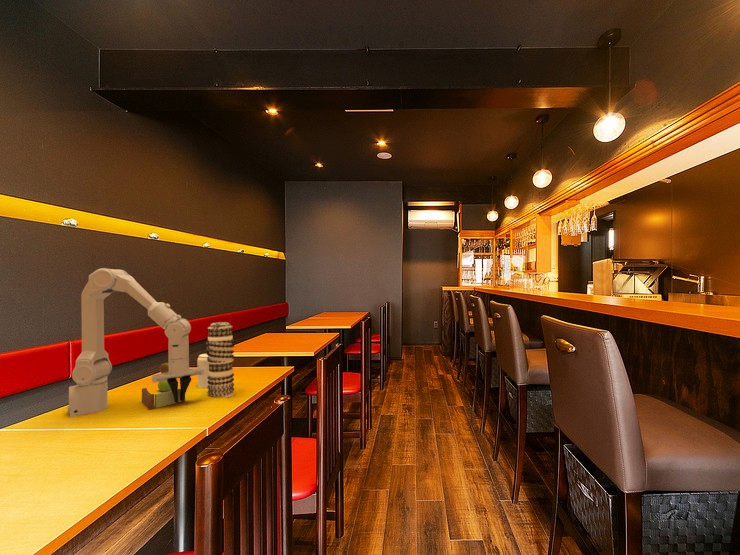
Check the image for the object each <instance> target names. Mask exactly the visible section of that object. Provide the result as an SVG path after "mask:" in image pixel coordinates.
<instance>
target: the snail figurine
mask: <svg viewBox="0 0 740 555" xmlns="http://www.w3.org/2000/svg"><path fill="white" fill-rule="evenodd" d="M159 372H160V374H162V373H166V372H169V362H164V363H162V364H161V365H160V366H159ZM157 383H158V384H157V387H158V390H159V391H160V393H163V392H167V391H172V390H171V388H170V386H169V384H168V382H167V380H164V381H158V382H157Z"/></svg>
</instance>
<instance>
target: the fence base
mask: <svg viewBox="0 0 740 555" xmlns="http://www.w3.org/2000/svg"><path fill="white" fill-rule="evenodd" d="M141 403H143V405H144V406H146V408H147V410H154V409H155V394H154V393H151V392H150V391H148V388H147V387H142V388H141Z"/></svg>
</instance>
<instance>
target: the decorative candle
mask: <svg viewBox="0 0 740 555" xmlns="http://www.w3.org/2000/svg"><path fill="white" fill-rule="evenodd" d="M207 329H208V336H207V340H206V342H205V345H207V347H206V348H205V349H206V353H205V354H207V355H208V356H209V357H208V358H207V360H208V361H207V363H209V371H208V375H209V376H208V377H207V378H208V379H209V380H208V382H207V383H208V384H209V385H208V387H207V388H206V389H207V392H206V393H207V394H208V395H209V396H210V397H215V398H218V397H220V398H221V397H222V398H224V399H227V398H231V397H233V396H234V395H235V392H234V391H235V388H234V386H235V383H234V380H235V378H234V376H235V373H234V368H233V362H234V360H235V359H234V357H235V355H234V353H235V351H234V350H233V348H234V347H235V344H234V343H235V340H234V337H233V325H231V324H230V322H227V321H224V322H223V321H219V322H212V323H210V325H209V326H208V327H207Z"/></svg>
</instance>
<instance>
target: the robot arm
mask: <svg viewBox="0 0 740 555" xmlns="http://www.w3.org/2000/svg"><path fill="white" fill-rule="evenodd" d="M115 292H122V293H127V295H129V296H130V297H131V298H132V299H134V300H135V301H137V302H138V303H139V304H140V305H141V306H142V307H144V308H145V309H147V316H148V317H150V319H151V320H152V321H154V322H155V323H156V324H157V325H158V326H159V327H161V329H162V330H164V335H165V336H166V337H167V339H168V345H167V346H168V349H167V350H168V352H167V353H168V361H167V362H168V363H169V372H166V373H159V374H152V375H151V383H159V381H164V380H167V382H168V384H169V386H170V388H171V391H172V393H173V396H174V401H175V403H174V404H178V403H179V402H178V389H180V400H181V401H183V402H185V401H184V398H185V399H186V394H187V391H188V388H189V385H190V383H191V381H192V377H193V376H194V377H195V376H198V375H204V368H197V367H196V368H190V349H189V348H190V344H189V342H190V341H189V334H190V332H191V330H192V325H191V324H190V322H189V321H188V319H186V318H182V316H181V314H177V313H176V312H175V311H174V310H173V309H171V305H170V303H165V302H164V301H163V302H162V301H161V302H160V301H159V302H158V301H156V299H155V298H154V297H153V296H152V295H150V294H149V292H148V291H147V290H146V289H144V288H143V287H142V286H141V285H140V283H139V282H138V281H136V279H135V278H134V277H133V276H131V275H130V274H129V273H128V272H127V271H126V270H125V269H119V268H118V269H117V268H116V269H113V268H107V267H102V268H101V267H100V268H99V269H96V270H94V271H93V272H91V273H90V274H89V275H88V281H87V283H86V284H85V286H84V288H83V290H82V292H81V296H80V298H81V300H80V302H81V304H80V305H81V353H80V354H79V355H78V356H77V358H76V360H75V365H74V368H73V370H72V373H71V378H72V380H73V381H74V383H76V385H70V386H69V387H68V405H67V412H68V414H69V417H70V418H73V417H77V416H78V417H79V416H83V415H89V414H94V413H95V414H96V413H99V412H102V411H105V410H107V409H108V400H109V399H108V398H109V397H108V376H109V375H110V373H111V372H112V370H113V365H112V363H111V361H110V358H109V352H107V351H106V350H105V310H104V308H105V306H104V305H105V304H104V303H105V301H104V300H105V299H106V298H107V297H109V296H110V295H111V294H113V293H115ZM178 379H179V381H178ZM179 386H180V388H179ZM177 402H178V403H177Z"/></svg>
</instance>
